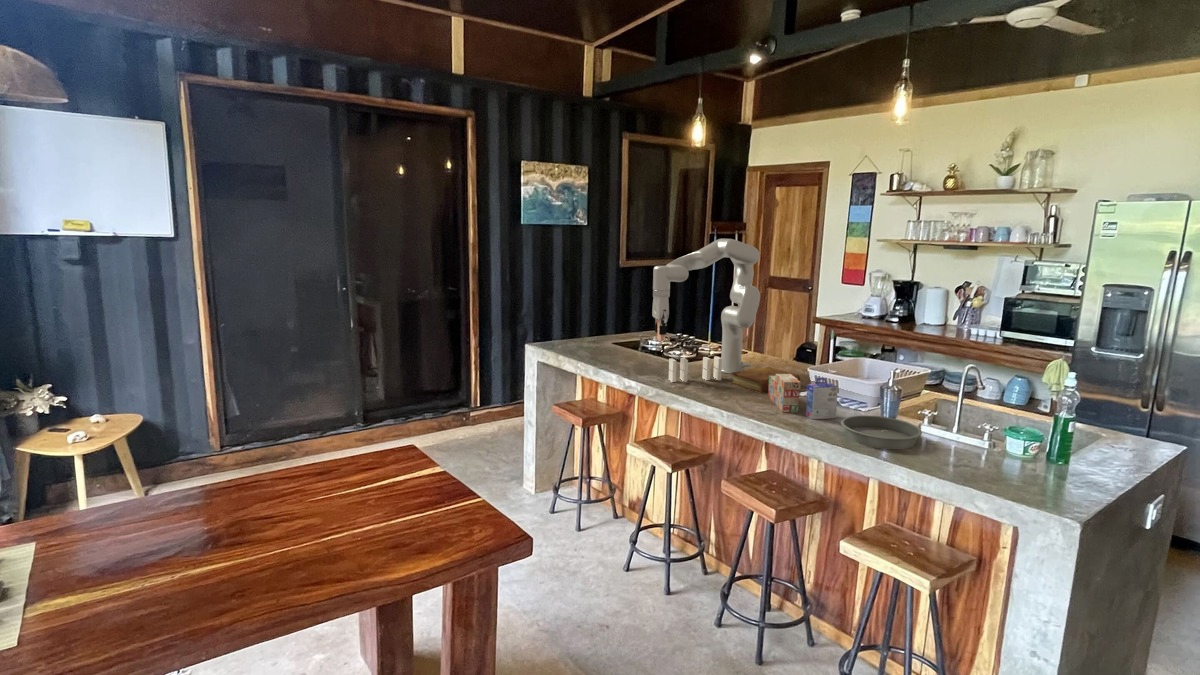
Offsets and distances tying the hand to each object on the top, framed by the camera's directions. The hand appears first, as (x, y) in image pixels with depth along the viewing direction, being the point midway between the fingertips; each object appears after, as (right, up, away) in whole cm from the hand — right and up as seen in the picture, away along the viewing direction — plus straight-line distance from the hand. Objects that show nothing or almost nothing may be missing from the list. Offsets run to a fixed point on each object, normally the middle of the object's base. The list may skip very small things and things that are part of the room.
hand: (660, 332), depth 285 cm
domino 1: (+10, -22, -1) cm, 24 cm away
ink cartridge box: (+54, -32, -53) cm, 82 cm away
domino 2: (+21, -21, +2) cm, 30 cm away
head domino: (+5, -22, -2) cm, 22 cm away
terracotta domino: (0, -3, +1) cm, 4 cm away
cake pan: (+66, -36, -75) cm, 106 cm away
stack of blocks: (+45, -29, -37) cm, 65 cm away
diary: (+45, -24, -7) cm, 52 cm away
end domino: (+26, -21, +3) cm, 34 cm away
